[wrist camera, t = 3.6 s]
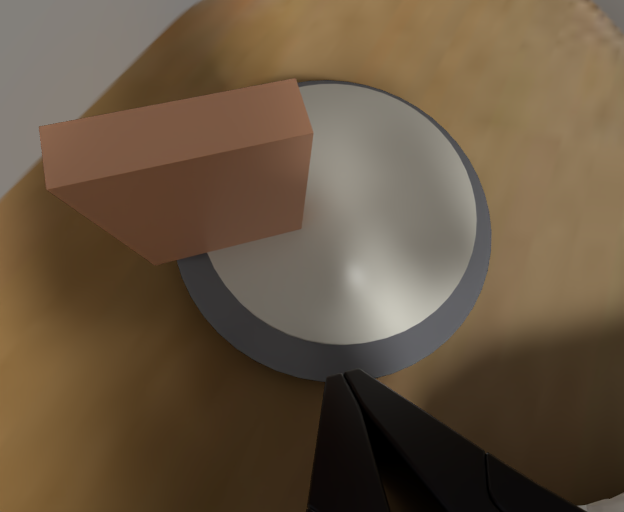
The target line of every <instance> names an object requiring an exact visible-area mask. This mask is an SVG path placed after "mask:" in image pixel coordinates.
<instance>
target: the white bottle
mask: <svg viewBox="0 0 624 512" xmlns="http://www.w3.org/2000/svg"><path fill="white" fill-rule="evenodd" d="M578 507H580V508H582V509H583V510H585V511H587V512H624V493H622V494H620V495H617V496H615V497H613V498H611V499H603V500H600V501H597V502H594V503H590V504H587V505H581V506H578Z"/></svg>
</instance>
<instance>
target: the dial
mask: <svg viewBox="0 0 624 512" xmlns="http://www.w3.org/2000/svg"><path fill="white" fill-rule="evenodd" d="M39 132H40V141H41V149H42V157H43V166H44V174H45V182H46V190H48V191H49V192H50V193H52V194H53V195H55V196H56V197H58V198H59V199H60V200H62V201H63V202H65V203H66V204H68V205H69V206H71V207H72V208H73V209H75V210H76V211H78V212H79V213H81V214H82V215H83V216H85V217H86V218H88V219H89V220H91V221H92V222H93V223H95V224H96V225H98V226H99V227H101V228H102V229H103V230H105V231H106V232H108V233H109V234H111V235H112V236H113V237H115V238H116V239H118V240H119V241H121V242H122V243H124V244H125V245H126V246H128V247H129V248H131V249H132V250H134V251H135V252H136V253H138V254H139V255H141V256H142V257H144V258H145V259H146V260H148V261H149V262H151V263H152V264H154V265H159V264H163V263H167V262H171V261H175V260H179V259H183V258H187V257H191V256H195V255H199V254H203V253H207V254H208V256H209V258H210V260H211V262H212V264H213V267H214V269H215V270H216V272H217V273H218V275H219V277H220V278H221V280H222V281H223V283H224V284H225V286H226V287H227V288H228V289H229V290H230V292H231V293H232V294H233V295H234V296H235V297H236V298H237V300H238V301H239V302H240V303H241V304H242V305H243V306H244V307H245V308H246V309H247V310H249V311H250V312H251V313H252V314H253V315H254V316H255V317H257V318H258V319H260V320H261V321H263V322H265V323H266V324H268V325H269V326H271V327H272V328H275V329H277V330H279V331H281V332H283V333H285V334H287V335H290V336H293V337H296V338H299V339H302V340H305V341H310V342H315V343H320V344H331V345H349V344H361V343H367V342H371V341H376V340H380V339H385V338H388V337H391V336H393V335H396V334H398V333H401V332H404V331H406V330H408V329H409V328H411V327H413V326H415V325H417V324H418V323H420V322H422V321H423V320H424V319H426V318H427V317H428V316H430V315H431V314H432V313H434V312H435V311H436V310H437V309H438V308H439V307H440V306H441V305H442V304H443V303H444V302H445V301H446V300H447V299H448V298H449V296H450V295H451V294H452V292H453V291H454V289H455V288H456V287H457V285H458V284H459V282H460V280H461V278H462V277H463V275H464V273H465V271H466V269H467V266H468V264H469V261H470V258H471V255H472V252H473V247H474V242H475V237H476V223H477V216H476V204H475V198H474V194H473V189H472V185H471V182H470V179H469V177H468V174H467V171H466V169H465V167H464V165H463V163H462V161H461V159H460V157H459V155H458V154H457V152H456V151H455V149H454V148H453V146H452V145H451V143H450V142H449V141H448V140H447V138H446V137H445V136H444V135H443V134H442V133H441V131H440V130H439V129H438V128H437V127H436V126H435V125H433V124H432V123H431V122H430V121H429V120H428V119H427V118H426V117H424V116H423V115H422V114H420V113H419V112H418V111H416V110H415V109H414V108H412V107H410V106H408V105H407V104H405V103H403V102H401V101H400V100H398V99H395V98H393V97H391V96H389V95H386V94H384V93H381V92H378V91H375V90H371V89H368V88H363V87H358V86H353V85H344V84H317V85H309V86H302V87H298V84H297V81H296V78H293V79H288V80H283V81H277V82H272V83H267V84H261V85H256V86H251V87H246V88H240V89H235V90H230V91H224V92H219V93H214V94H209V95H203V96H198V97H193V98H187V99H182V100H177V101H171V102H166V103H161V104H156V105H150V106H145V107H140V108H134V109H129V110H124V111H119V112H113V113H108V114H103V115H97V116H92V117H87V118H81V119H76V120H71V121H66V122H61V123H55V124H50V125H44V126H39Z"/></svg>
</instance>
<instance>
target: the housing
mask: <svg viewBox="0 0 624 512" xmlns="http://www.w3.org/2000/svg"><path fill="white" fill-rule="evenodd" d="M297 84H298V87H302V86H309V85H317V84H344V85H353V86H358V87H363V88H368V89H371V90H375V91H378V92H381V93H384V94H386V95H389V96H391V97H393V98H395V99H398V100H400V101H401V102H403V103H405V104H407V105H408V106H410V107H412V108H414V109H415V110H416V111H418V112H419V113H420V114H422V115H423V116H424V117H426V118H427V119H428V120H429V121H430V122H431V123H432V124H433V125H435V126H436V127H437V128H438V129H439V130H440V131H441V133H442V134H443V135H444V136H445V137H446V138H447V140H448V141H449V142H450V143H451V145H452V146H453V148H454V149H455V151H456V152H457V154H458V155H459V157H460V159H461V161H462V163H463V165H464V167H465V169H466V171H467V174H468V177H469V179H470V182H471V185H472V189H473V194H474V198H475V204H476V216H477V223H476V237H475V242H474V247H473V252H472V255H471V258H470V261H469V264H468V266H467V269H466V271H465V273H464V275H463V277H462V278H461V280H460V282H459V284H458V285H457V287H456V288H455V289H454V291H453V292H452V294H451V295H450V296H449V298H448V299H447V300H446V301H445V302H444V303H443V304H442V305H441V306H440V307H439V308H438V309H437V310H436V311H435V312H434V313H432V314H431V315H430V316H428V317H427V318H426V319H424V320H423V321H422V322H420V323H418V324H417V325H415V326H413V327H411V328H409V329H408V330H406V331H404V332H401V333H398V334H396V335H393V336H391V337H388V338H385V339H380V340H376V341H371V342H367V343H361V344H349V345H331V344H320V343H315V342H310V341H305V340H302V339H299V338H296V337H293V336H290V335H287V334H285V333H283V332H281V331H279V330H277V329H275V328H272V327H271V326H269V325H268V324H266V323H265V322H263V321H261V320H260V319H258V318H257V317H255V316H254V315H253V314H252V313H251V312H250V311H249V310H247V309H246V308H245V307H244V306H243V305H242V304H241V303H240V302H239V301H238V300H237V298H236V297H235V296H234V295H233V294H232V293H231V292H230V290H229V289H228V288H227V287H226V286H225V284H224V283H223V281H222V280H221V278H220V277H219V275H218V273H217V272H216V270H215V269H214V267H213V264H212V262H211V260H210V258H209V256H208V254H207V253H203V254H199V255H195V256H191V257H187V258H183V259H179V260H177V263H178V266H179V270H180V273H181V276H182V279H183V281H184V283H185V285H186V287H187V289H188V292H189V294H190V296H191V298H192V299H193V301H194V302H195V304H196V305H197V307H198V308H199V310H200V312H201V313H202V315H203V316H204V317H205V318H206V319H207V321H208V322H209V323H210V324H211V325H212V326H213V328H214V329H215V330H216V331H217V332H218V333H219V334H220V335H221V336H222V337H224V338H225V339H226V340H227V341H228V342H229V343H230V344H232V345H233V346H234V347H235V348H236V349H238V350H239V351H241V352H243V353H244V354H246V355H247V356H249V357H250V358H252V359H253V360H255V361H257V362H259V363H261V364H263V365H265V366H267V367H270V368H272V369H274V370H276V371H279V372H282V373H285V374H288V375H292V376H295V377H298V378H303V379H309V380H315V381H321V382H325V380H326V377H328V376H331V375H334V374H338V373H342V374H344V372H346V371H349V370H353V369H357V368H359V369H361V370H363V371H364V372H366V373H367V374H369V375H370V376H372V377H373V378H378V377H381V376H385V375H389V374H392V373H395V372H397V371H399V370H402V369H404V368H407V367H409V366H411V365H413V364H415V363H416V362H418V361H420V360H421V359H423V358H425V357H426V356H428V355H430V354H431V353H432V352H434V351H435V350H436V349H437V348H439V347H440V346H441V345H442V344H443V343H445V342H446V341H447V340H448V339H449V338H450V337H451V336H452V335H453V334H454V332H455V331H456V330H457V329H458V328H459V327H460V326H461V325H462V323H463V322H464V320H465V319H466V317H467V316H468V314H469V313H470V311H471V310H472V308H473V307H474V304H475V302H476V300H477V298H478V296H479V294H480V292H481V290H482V287H483V284H484V281H485V277H486V274H487V271H488V265H489V259H490V253H491V224H490V215H489V210H488V206H487V201H486V197H485V194H484V191H483V188H482V186H481V183H480V181H479V178H478V176H477V174H476V172H475V170H474V168H473V166H472V164H471V163H470V161H469V159H468V158H467V156H466V155H465V153H464V152H463V150H462V149H461V148H460V146H459V145H458V143H457V142H456V141H455V140H454V139H453V138H452V137H451V136H450V134H449V133H448V132H447V131H446V130H445V129H444V128H443V127H442V126H440V125H439V124H438V123H437V122H436V121H435V120H434V119H433V118H431V117H430V116H429V115H427V114H426V113H424V112H423V111H422V110H420V109H419V108H417V107H416V106H414V105H412V104H411V103H409V102H407V101H405V100H403V99H402V98H400V97H397V96H395V95H393V94H390V93H388V92H385V91H383V90H380V89H376V88H373V87H370V86H367V85H362V84H357V83H351V82H344V81H331V80H323V81H306V82H299V83H297Z"/></svg>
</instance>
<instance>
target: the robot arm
mask: <svg viewBox="0 0 624 512" xmlns="http://www.w3.org/2000/svg"><path fill="white" fill-rule="evenodd" d="M307 508H308V509H306V512H587V511H585V510H583V509H582V508H580V507H578V506H576V505H574V504H573V503H571V502H569V501H567V500H566V499H564V498H562V497H560V496H559V495H557V494H555V493H553V492H552V491H550V490H548V489H546V488H544V487H543V486H541V485H539V484H537V483H536V482H534V481H533V480H531V479H529V478H528V477H526V476H525V475H523V474H521V473H520V472H518V471H517V470H515V469H513V468H512V467H510V466H509V465H507V464H505V463H504V462H502V461H501V460H499V459H498V458H496V457H495V456H493V455H492V454H490V453H486V454H485V451H484V450H483V449H482V448H480V447H478V446H477V445H475V444H474V443H472V442H471V441H469V440H468V439H466V438H465V437H463V436H462V435H460V434H459V433H457V432H456V431H454V430H453V429H451V428H450V427H448V426H446V425H445V424H443V423H442V422H440V421H439V420H437V419H436V418H434V417H433V416H431V415H430V414H428V413H427V412H425V411H424V410H422V409H421V408H419V407H418V406H416V405H414V404H413V403H411V402H410V401H408V400H407V399H405V398H404V397H402V396H401V395H399V394H398V393H396V392H395V391H393V390H392V389H390V388H389V387H387V386H386V385H384V384H382V383H381V382H379V381H378V380H376V379H375V378H373V377H372V376H370V375H369V374H367V373H366V372H364V371H363V370H361V369H359V368H357V369H353V370H349V371H346V372H344V374H342V373H338V374H334V375H331V376H328V377H326V380H325V387H324V394H323V401H322V408H321V415H320V421H319V428H318V435H317V442H316V449H315V455H314V462H313V469H312V476H311V483H310V489H309V496H308V503H307Z"/></svg>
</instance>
